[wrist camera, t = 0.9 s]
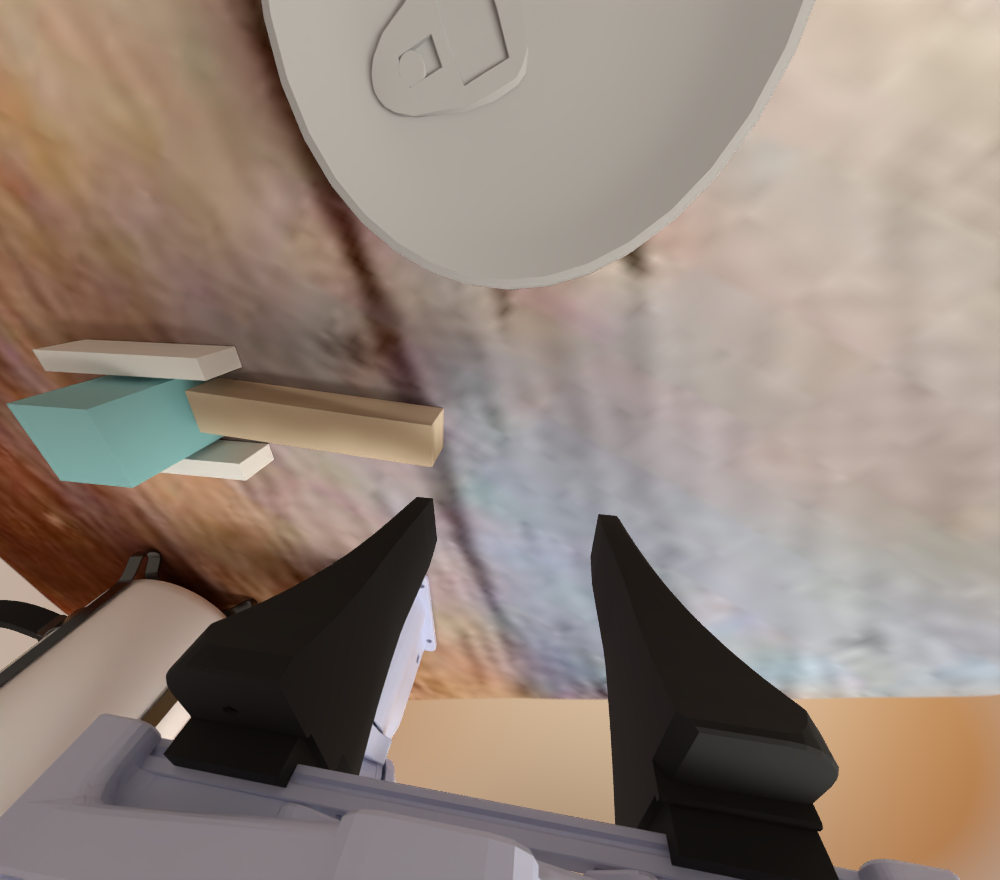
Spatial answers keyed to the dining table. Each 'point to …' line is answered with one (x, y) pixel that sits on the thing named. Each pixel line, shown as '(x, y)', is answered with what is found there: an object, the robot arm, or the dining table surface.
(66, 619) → the coffee press
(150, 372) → the channel
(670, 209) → the canned food
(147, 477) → the block
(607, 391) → the dining table surface
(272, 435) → the rod
